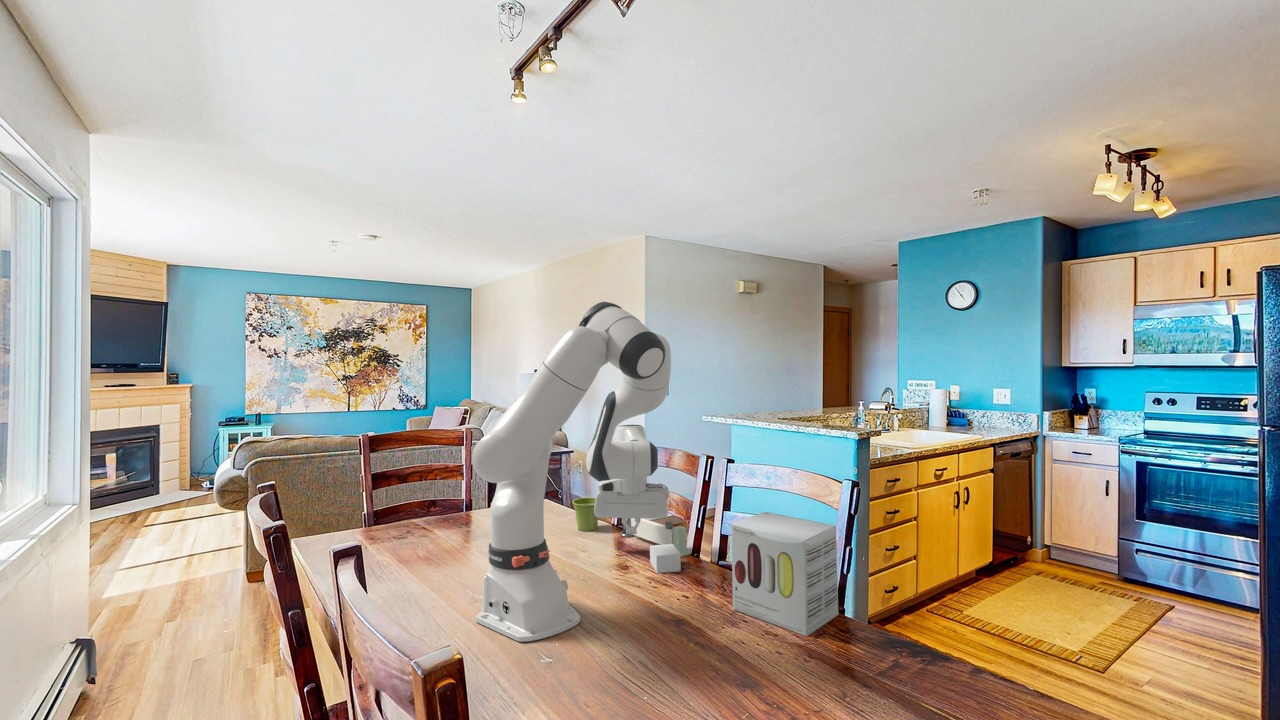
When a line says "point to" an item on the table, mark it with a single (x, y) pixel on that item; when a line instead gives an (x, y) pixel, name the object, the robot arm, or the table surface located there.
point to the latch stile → (680, 540)
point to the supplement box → (785, 571)
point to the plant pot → (585, 514)
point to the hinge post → (625, 529)
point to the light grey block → (665, 558)
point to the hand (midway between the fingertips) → (631, 533)
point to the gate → (655, 531)
